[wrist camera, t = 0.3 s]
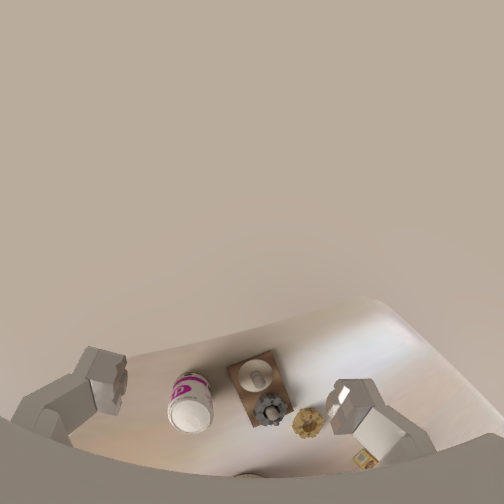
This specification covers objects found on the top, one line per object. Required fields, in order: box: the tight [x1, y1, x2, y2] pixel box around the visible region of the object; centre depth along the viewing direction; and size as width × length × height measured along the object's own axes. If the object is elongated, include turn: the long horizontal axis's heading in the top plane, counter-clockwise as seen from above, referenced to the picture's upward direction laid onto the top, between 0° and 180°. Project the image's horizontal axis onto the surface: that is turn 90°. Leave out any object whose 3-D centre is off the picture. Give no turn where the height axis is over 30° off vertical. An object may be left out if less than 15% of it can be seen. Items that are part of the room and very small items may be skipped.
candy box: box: [353, 449, 379, 470], centre depth 58 cm, size 9×4×15 cm, turn 47°
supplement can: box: [167, 373, 214, 434], centre depth 53 cm, size 8×8×15 cm
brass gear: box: [291, 408, 324, 439], centre depth 62 cm, size 7×7×3 cm
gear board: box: [227, 350, 294, 428], centre depth 60 cm, size 16×10×6 cm, turn 20°
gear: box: [253, 393, 288, 426], centre depth 59 cm, size 7×7×5 cm
